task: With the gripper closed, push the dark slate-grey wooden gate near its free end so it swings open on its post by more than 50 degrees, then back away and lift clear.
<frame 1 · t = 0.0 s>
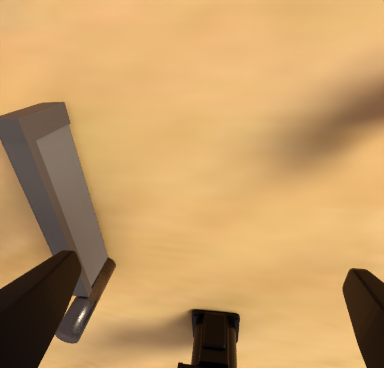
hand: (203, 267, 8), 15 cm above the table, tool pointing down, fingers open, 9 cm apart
gate: (67, 208, 23), point 3 cm above the table, hinge at 0.0°
gate post: (106, 263, 31), on the table
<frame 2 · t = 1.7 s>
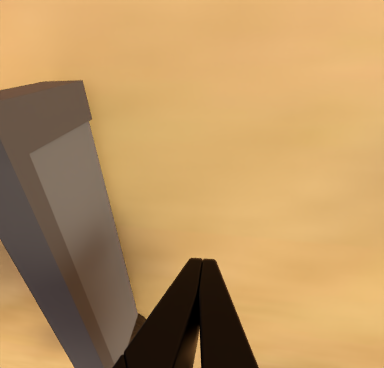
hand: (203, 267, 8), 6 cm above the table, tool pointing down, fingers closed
gate: (85, 262, 14), point 3 cm above the table, hinge at 0.0°
gate post: (134, 320, 22), on the table
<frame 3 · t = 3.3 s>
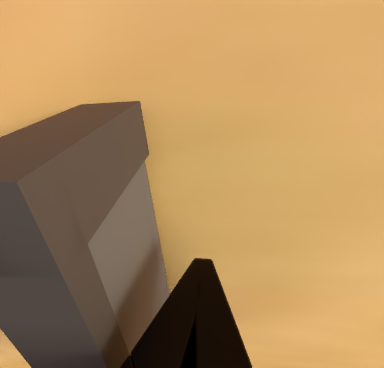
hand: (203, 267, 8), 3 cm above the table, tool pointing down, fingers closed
gate: (138, 347, 10), point 3 cm above the table, hinge at 1.6°, touching gripper
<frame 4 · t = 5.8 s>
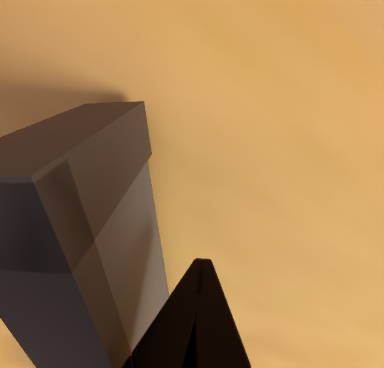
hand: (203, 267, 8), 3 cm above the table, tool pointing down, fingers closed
gate: (137, 347, 10), point 3 cm above the table, hinge at 38.1°, touching gripper
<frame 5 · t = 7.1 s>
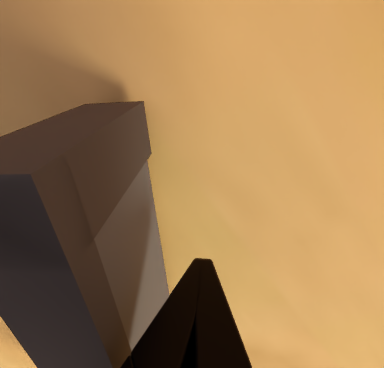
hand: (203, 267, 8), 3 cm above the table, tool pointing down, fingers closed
gate: (137, 346, 10), point 3 cm above the table, hinge at 55.5°, touching gripper
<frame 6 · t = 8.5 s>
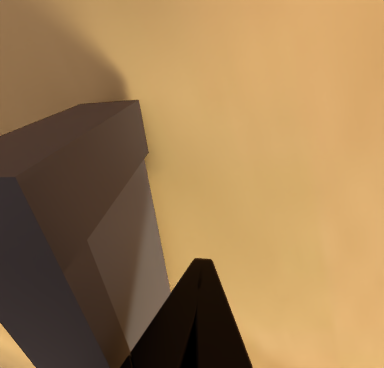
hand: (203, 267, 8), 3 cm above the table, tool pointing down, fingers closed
gate: (139, 345, 10), point 3 cm above the table, hinge at 72.4°, touching gripper
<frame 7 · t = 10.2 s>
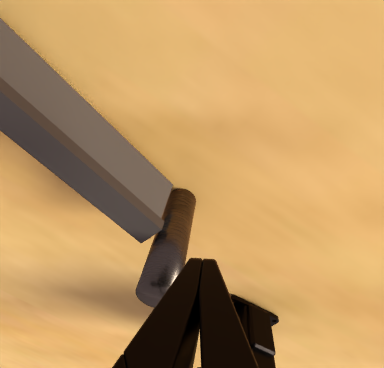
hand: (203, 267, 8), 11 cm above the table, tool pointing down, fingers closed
gate: (52, 114, 15), point 3 cm above the table, hinge at 72.4°
gate post: (182, 200, 21), on the table
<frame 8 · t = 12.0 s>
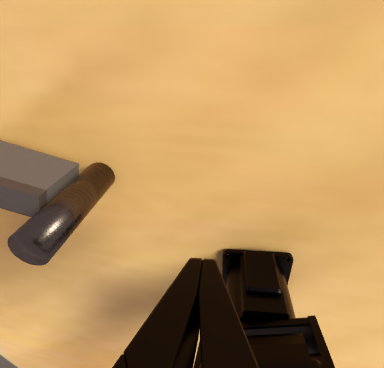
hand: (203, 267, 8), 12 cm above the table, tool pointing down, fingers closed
gate post: (101, 175, 21), on the table
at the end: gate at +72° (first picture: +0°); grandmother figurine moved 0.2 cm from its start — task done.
